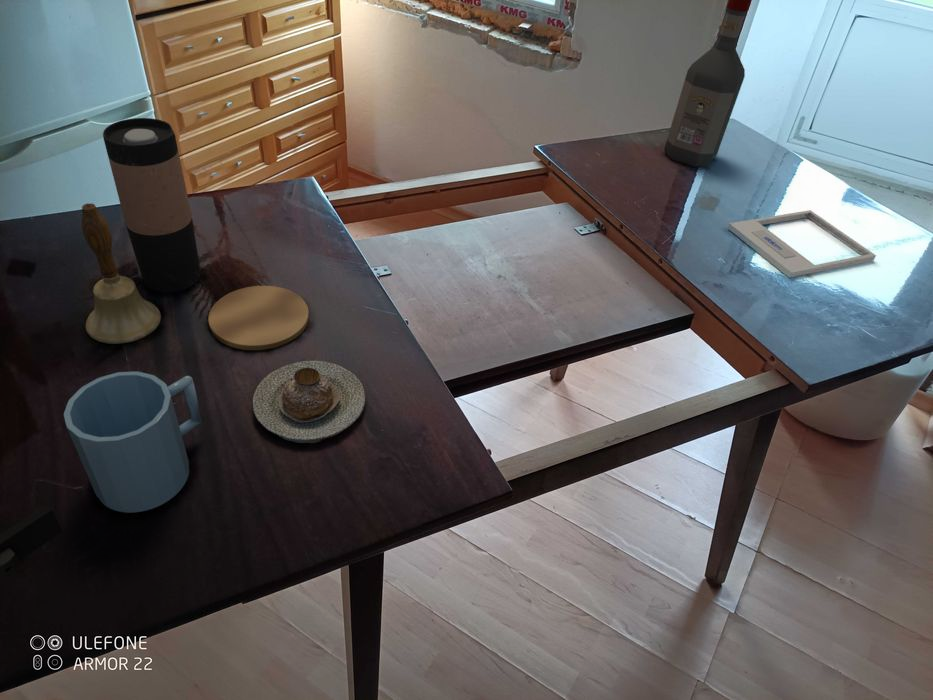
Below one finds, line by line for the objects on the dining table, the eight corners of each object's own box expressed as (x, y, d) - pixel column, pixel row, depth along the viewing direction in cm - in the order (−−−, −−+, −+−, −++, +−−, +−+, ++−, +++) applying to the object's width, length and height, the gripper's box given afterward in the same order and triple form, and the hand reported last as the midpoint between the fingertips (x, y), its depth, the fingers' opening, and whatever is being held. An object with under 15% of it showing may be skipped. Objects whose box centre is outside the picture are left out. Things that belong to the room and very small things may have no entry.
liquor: (705, 171, 130) (764, -1, 110) (659, 156, 133) (709, -13, 113) (718, 155, 136) (777, -10, 116) (674, 141, 139) (724, -22, 119)
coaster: (187, 328, 83) (186, 323, 82) (252, 279, 91) (251, 275, 91) (268, 363, 80) (267, 358, 79) (327, 309, 88) (327, 304, 88)
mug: (130, 528, 62) (102, 457, 55) (76, 480, 65) (43, 407, 59) (232, 454, 69) (217, 383, 63) (178, 414, 73) (159, 343, 66)
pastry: (232, 399, 75) (226, 368, 72) (323, 354, 82) (321, 324, 79) (294, 465, 69) (291, 434, 66) (387, 410, 76) (388, 380, 73)
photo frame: (729, 222, 113) (810, 209, 119) (727, 228, 114) (808, 214, 120) (792, 271, 103) (876, 254, 109) (789, 277, 104) (873, 260, 110)
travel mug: (128, 285, 88) (85, 136, 75) (164, 255, 94) (131, 112, 81) (180, 299, 87) (146, 151, 74) (214, 268, 92) (188, 125, 79)
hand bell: (173, 326, 83) (144, 209, 72) (103, 354, 78) (62, 233, 68) (143, 293, 87) (111, 178, 77) (74, 317, 82) (32, 199, 72)
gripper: (-389, 600, 47) (-56, 427, 61) (-246, 868, 37) (113, 588, 51) (-478, 538, 42) (-94, 364, 56) (-339, 827, 32) (85, 530, 46)
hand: (5, 471), depth 53 cm, fingers open, 13 cm apart
